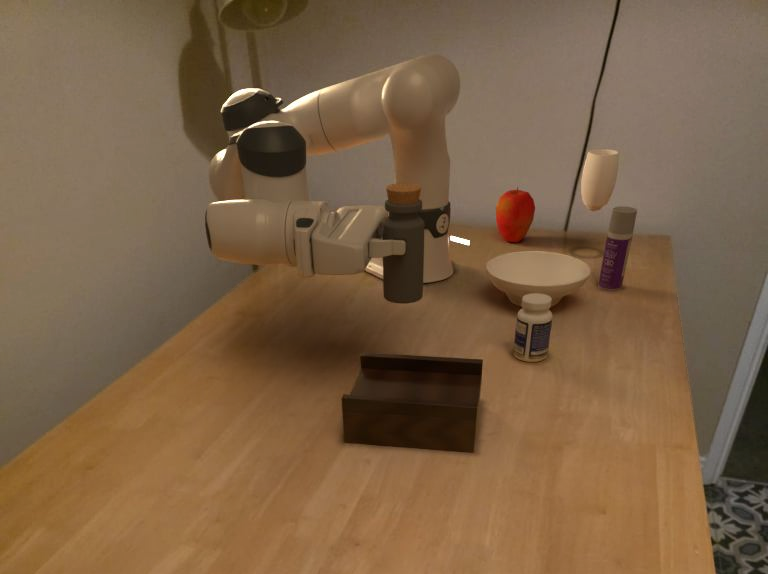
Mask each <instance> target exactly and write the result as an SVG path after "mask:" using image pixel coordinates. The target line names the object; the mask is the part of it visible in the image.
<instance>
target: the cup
mask: <svg viewBox="0 0 768 574" xmlns="http://www.w3.org/2000/svg"><path fill="white" fill-rule="evenodd" d="M619 154H620V153H619V151H617V150H614V149H606V148H599V149H591V150H588V152H587V155H586V158H585V162H584V165H583V170H582V174H581V179H580V192H581V193H580V194H581V203H582V204H583V205H585V207H586V209H587V210H588V211H591V212H593V213H594V212H596V211H597V212H598V211H600V210H601V209H602V208H603V207H604V206H607V205H608V204H609V201H610V199H611V197H612V195H613V192H614V189H615V186H616V183H617V178H618V170H619V157H620V155H619Z"/></svg>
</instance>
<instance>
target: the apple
mask: <svg viewBox="0 0 768 574" xmlns="http://www.w3.org/2000/svg"><path fill="white" fill-rule="evenodd" d="M535 212H536V204H535V200H534V198H533V197H532V195H531V193H529V192H528V191H525V190H521V189H519V187H517V188H516V189H510V190H508V191H506V192H504V193H503V194H502V195H501V196H500V197H499V199H498V201H497V204H496V206H495V221H496V226H497V230H498V234H499V236H500V237H502V238H503V239H504V241H506V242H509V243H519V242H520V241H522V240H523V238H525V237H526V235H527V233H528V232H529V230H530V227H531V225H532V224H533V222H534V217H535Z"/></svg>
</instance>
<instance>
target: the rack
mask: <svg viewBox="0 0 768 574" xmlns="http://www.w3.org/2000/svg"><path fill="white" fill-rule="evenodd" d="M359 362H360V364H359V365H360V369H359V372H358V373H357V376H356V377H355V381H354V383H353V384H352V385H353V386H352V388H351V390H350V392H349V394H348V393H345V394H344V393H343V394H342V396H341V410H342V411H341V412H342V425H343V426H342V427H343V428H342V429H343V442H344V443H346V444H357V445H358V444H359V445H372V446H373V445H374V446H384V447H385V446H386V447H398V448H409V449H412V448H413V449H423V450H434V451H435V450H436V451H448V452H449V451H450V452H464V453H475V447H476V438H477V428H478V420H479V412H480V411H479V410H480V403H481V391H482V380H483V379H482V378H483V367H484V366H483V365H484V359H483V358H482V359H481V358H466V357H447V356H433V355H432V356H431V355H413V354H397V353H382V352H381V353H379V352H364V351H362V352H361V353H360V355H359Z"/></svg>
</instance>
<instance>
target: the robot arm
mask: <svg viewBox="0 0 768 574" xmlns="http://www.w3.org/2000/svg"><path fill="white" fill-rule="evenodd" d="M460 93H461V76H460V74H459V70H458V68H457V67H456V65H455V64H454V63H453V62H452V61H451V60H450V59H448V58H447V57H446V56H443V55H441V54H437V53H427V54H423V55H420V56H417V57H414V58H412V59H409V60H406V61H402V62H400V63H397V64H393V65H391V66H387V67H385V68H381V69H378V70H376V71H372V72H369V73H366V74H363V75H360V76H357V77H354V78H351V79H347V80H345V81H342V82H339V83H337V84H333V85H330V86H327V87H323V88H321V89H318V90H316V91H313V92H310V93H308V94H306V95H304V96H302V97H300V98H298V99H296V100H295V101H293V102H291V103H290V104H288V105H287V106H286V107H285V108H281V107H280V106H282V105H283V104H284V103H285V102H284V100H283V99H282V98H280V97H275V96H274V95H272V94H271V93H270V92H268V91H266V90H265V89H261V88H244V89H240V90H238V91H235V92H234V93H233V94H232V95H231V96H229V98H228V99H227V100H226V101H224V103H223V104H222V107H221V109H220V116H221V117H220V118H221V121H222V125H223V128H224V131H226V132H227V135H228V138H229V139H228V142H227V147H226V148H224V149H222V150H219V151H218V152H217V153H216V154H215V155H214V156H213V158H212V159H211V161H210V163H209V167H208V182H209V185H210V189H211V192H212V194H213V196H214V198H215V199H216V201H215V202H210V203H209V204H208V205H207V208H206V210H205V214H204V226H205V227H204V228H205V235H206V240H207V244H208V248H209V249H210V252H211V254H212V255H213V256H214V257H215V258H217V259H219V260H223V261H228V262H232V263H238V264H246V265H254V266H257V265H258V266H269V265H270V266H271V265H274V264H283V265H286V266H289V267H295V268H297V274H298V276H299V278H313V277H314V276H315V275H316V274H317V275H320V276H352V275H357V274H361V273H364V272H367V273H369V274H371V275H373V276H375V277H377V278H378V279H381V280H383V257H385V256H389V255H404V253H405V252H406V249H407V241H406V239H404V238H401V239H400V238H394V239H393V240H383V221H384V220H385V219H386V218H387V217H389V212H388V211H386V210H385V205H379V204H369V205H368V204H363V205H361V204H360V205H358V204H357V205H344V206H341V207H339V208H338V209H337V210H336V211H331V208H330V205H329V203H328V202H327V201H324V200H320V201H319V200H309V190H308V189H309V187H308V176H307V156H309V157H311V156H320V155H327V154H331V153H336V152H339V151H343V150H347V149H351V148H354V147H357V146H362V145H364V144H368V143H372V142H375V141H378V140H381V139H383V138H387V137H389V138H390V143H391V148H392V149H391V150H392V154H393V155H392V156H393V167H394V169H393V171H394V176H393V177H394V184H397V183H411V184H417V185H419V186H420V187H421V191H420V196H419V199H420V200H421V201H422V209H421V210H420V211H418V216H419V217H420V218H422V219H423V221H424V271H423V284H427V283H434V282H439V281H443V280H446V279H448V278H450V277H451V276H453V274H454V267H453V263H452V262H453V261H452V258H451V249H450V241H452V242H455V243H460V244H462V245H466V246H470V243H471V242H470V240H468V239H465V238H460V237H457V236H453V235H450V236H449V228H450V223H451V211H452V209H451V201H449V200H450V178H451V177H450V175H451V158H450V155H449V149H448V142H447V132H446V116H448V115H449V114H450V113H451V112H452V110H453V109H454V108H455V107H456V104H457V102H458V99H459V97H460Z"/></svg>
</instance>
